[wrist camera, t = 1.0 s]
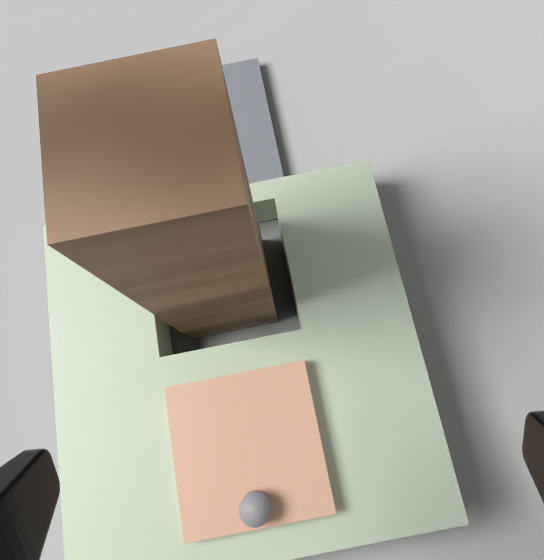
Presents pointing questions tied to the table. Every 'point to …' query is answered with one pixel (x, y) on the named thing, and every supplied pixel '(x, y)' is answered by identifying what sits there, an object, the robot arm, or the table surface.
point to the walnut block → (155, 187)
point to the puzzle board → (254, 404)
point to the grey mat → (252, 120)
